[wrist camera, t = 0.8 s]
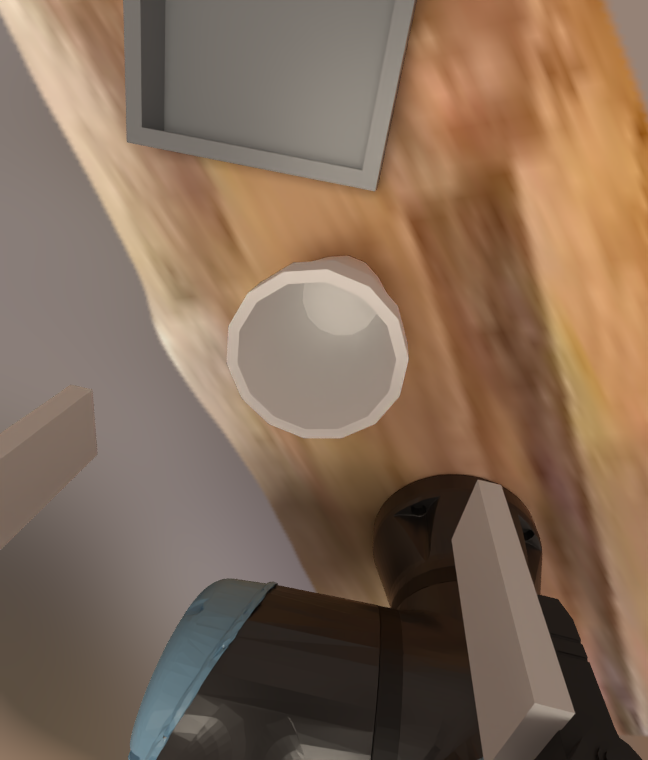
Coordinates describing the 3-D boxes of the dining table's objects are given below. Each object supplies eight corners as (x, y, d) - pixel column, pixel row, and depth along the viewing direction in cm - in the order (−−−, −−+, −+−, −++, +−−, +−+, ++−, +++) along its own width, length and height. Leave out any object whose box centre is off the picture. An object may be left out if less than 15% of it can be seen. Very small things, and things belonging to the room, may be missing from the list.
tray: (377, 188, 31) (375, 191, 27) (157, 145, 32) (126, 142, 28) (444, -133, 24) (453, -188, 20) (158, -179, 24) (117, -238, 21)
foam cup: (267, 325, 36) (207, 399, 25) (304, 213, 32) (253, 238, 20) (374, 369, 37) (364, 462, 25) (424, 264, 32) (441, 316, 21)
